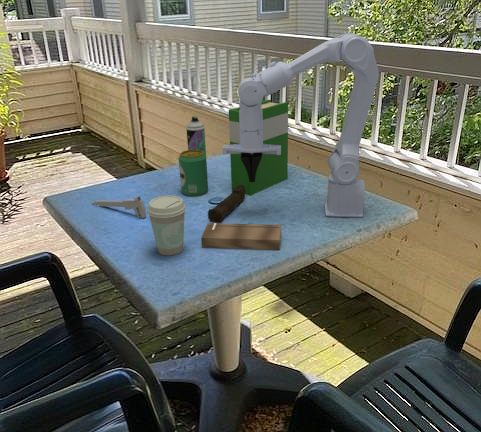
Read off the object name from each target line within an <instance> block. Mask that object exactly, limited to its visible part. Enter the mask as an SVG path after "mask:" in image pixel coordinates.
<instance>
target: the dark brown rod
mask: <svg viewBox="0 0 481 432" xmlns="http://www.w3.org/2000/svg"><path fill="white" fill-rule="evenodd" d="M245 199H246V194H245V187H244V185H243V184H242V185H238V186H237V187H235V188H233V189H232V188H231V193H230V194H229V195H228V196H227V197H226V198H224V199H223V200H222V201H220V203H218V204H217V205H215V206H214V207H213V208H210V209H208V211H207V217H208V220H209V222H210V223H222V221H223V220H224V217H225V216H226V215H227V214H228V213H229V212H231V211H232V210H233V209H234V208H235V207H236V206H238V205H241V204H242V203H243V202H244V201H245Z"/></svg>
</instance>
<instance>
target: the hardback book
mask: <svg viewBox="0 0 481 432" xmlns="http://www.w3.org/2000/svg"><path fill="white" fill-rule="evenodd" d="M261 109H262V111H263V144H269V145H281V155H276V154H263V155H262V159H261V161H260V163H259V166H258V168H257V172H256V180H255V182H249V177H248V173H247V171H246V168H245V166H244V164H243V163H242V161H241V154H229V155H230V177H231V182H230V183H231V190H232V189H233V188H235V187H237V186H238V185H242V184H243V185H244V187H245V196H246V195H247V196H249V197H251V196H254V195H255V194H258V193H260V192H262V191H264V190H266V189H269V188H272V187H273V186H275V185H278V184H280V183H282V182H285V181H287V180H288V179H289V178H288V173H289V172H288V169H289V168H288V165H289V164H288V161H289V159H288V158H289V157H288V156H289V102H288V101H284V102H281V103H276V102H272V99H266V100H262V101H261ZM239 110H240V107H239V106H238V107H235V108H231V109H228V129H229V145H234V144H240V125H239ZM252 155H253V154H252Z"/></svg>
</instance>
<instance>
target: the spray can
mask: <svg viewBox="0 0 481 432" xmlns="http://www.w3.org/2000/svg"><path fill="white" fill-rule="evenodd" d="M186 140H187V150H201V151H203V152H204V154H205V156H206V157H207V151H206V150H207V147H206V131H205V124H204V123H202V121H200V120H199V117H198V116H195V115H192V116H191V120H190V122H189V123H187V124H186ZM206 163H207V164H208V162H207V160H206ZM207 179H209V178H208V177H207Z"/></svg>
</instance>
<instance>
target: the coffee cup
mask: <svg viewBox="0 0 481 432" xmlns="http://www.w3.org/2000/svg"><path fill="white" fill-rule="evenodd" d="M186 211H187V207H186V204H185V202H184V200H183V198H182V197H180V196H176V195H161V196H158V197H157V196H156V197H155V198H152V199H151V200H150V201H149V202H148V207H147V212H146V214H148V216H149V220H150V224H151V227H152V231H153V235H154V241H155V243H156V248H157V252H158V254H160V255H162V256H176V255H178V254H181V253H182V252H183V250H184V243H185V241H184V239H185V238H184V237H185V213H186Z"/></svg>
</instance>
